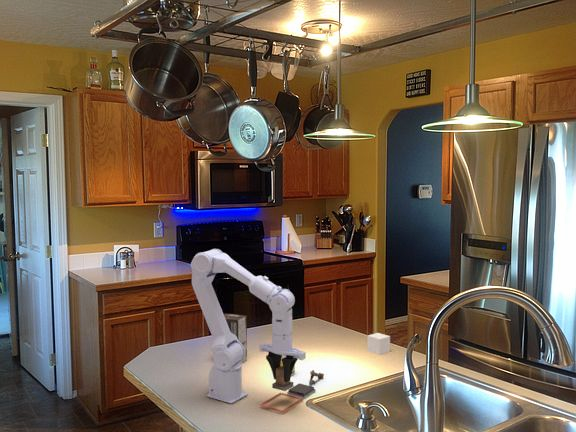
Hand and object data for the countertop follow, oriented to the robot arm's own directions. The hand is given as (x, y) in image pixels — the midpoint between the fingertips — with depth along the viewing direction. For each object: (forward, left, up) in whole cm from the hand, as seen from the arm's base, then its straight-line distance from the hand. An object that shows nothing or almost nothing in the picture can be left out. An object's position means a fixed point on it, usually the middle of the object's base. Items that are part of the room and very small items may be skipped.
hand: (282, 379), depth 155 cm
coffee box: (-35, +21, -8) cm, 41 cm away
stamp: (0, 0, -2) cm, 2 cm away
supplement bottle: (-12, +21, -8) cm, 25 cm away
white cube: (+4, +60, -8) cm, 61 cm away
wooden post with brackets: (0, +20, -8) cm, 22 cm away
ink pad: (0, +10, -7) cm, 12 cm away
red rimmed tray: (0, 0, -7) cm, 7 cm away
